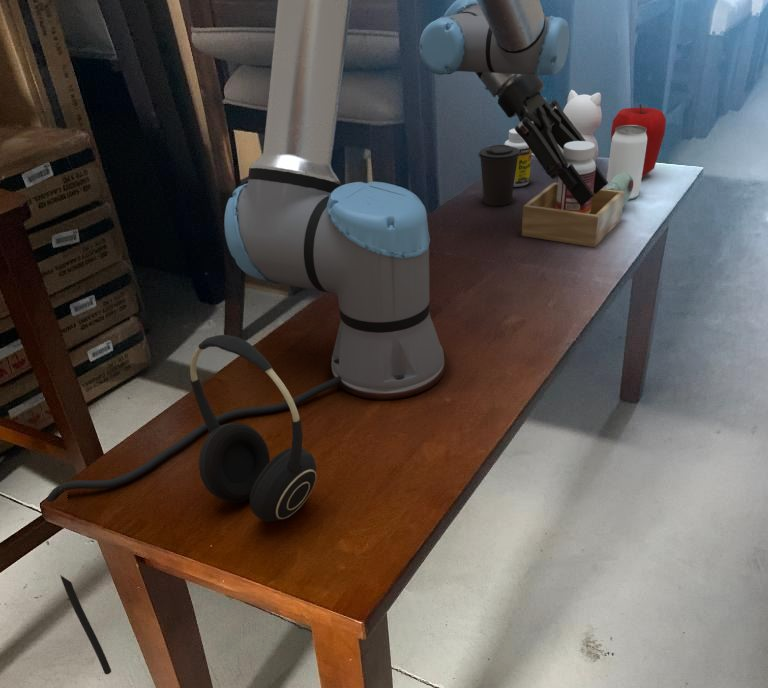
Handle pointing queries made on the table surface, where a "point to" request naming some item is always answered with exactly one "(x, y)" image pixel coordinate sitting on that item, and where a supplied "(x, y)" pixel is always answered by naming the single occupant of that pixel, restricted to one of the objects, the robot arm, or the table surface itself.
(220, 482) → the headphones
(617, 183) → the green rounded faceted piece
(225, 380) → the table surface
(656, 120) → the apple
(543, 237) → the holder
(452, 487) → the table surface
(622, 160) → the can
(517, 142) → the supplement bottle
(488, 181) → the coffee cup
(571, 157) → the pill bottle
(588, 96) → the cat figurine
